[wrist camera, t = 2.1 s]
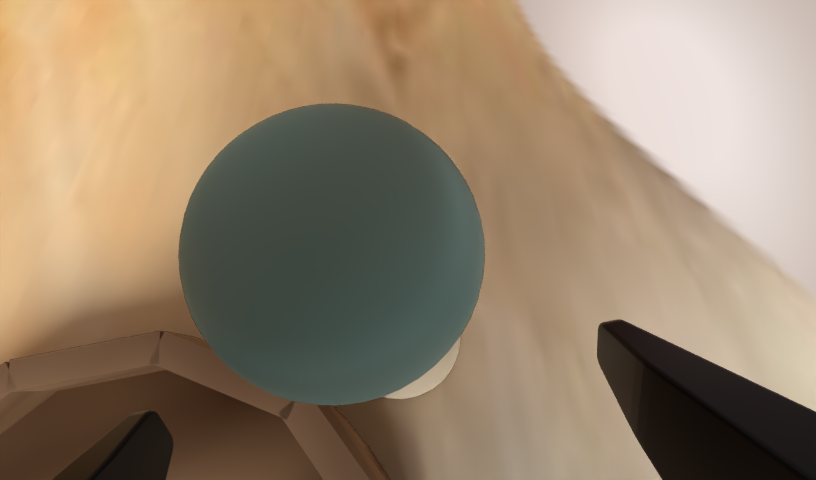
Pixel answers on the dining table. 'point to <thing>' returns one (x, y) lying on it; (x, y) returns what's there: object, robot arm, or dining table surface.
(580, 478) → the dining table surface
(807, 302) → the dining table surface
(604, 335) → the robot arm
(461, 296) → the bead post
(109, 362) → the walnut tray
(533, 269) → the dining table surface
